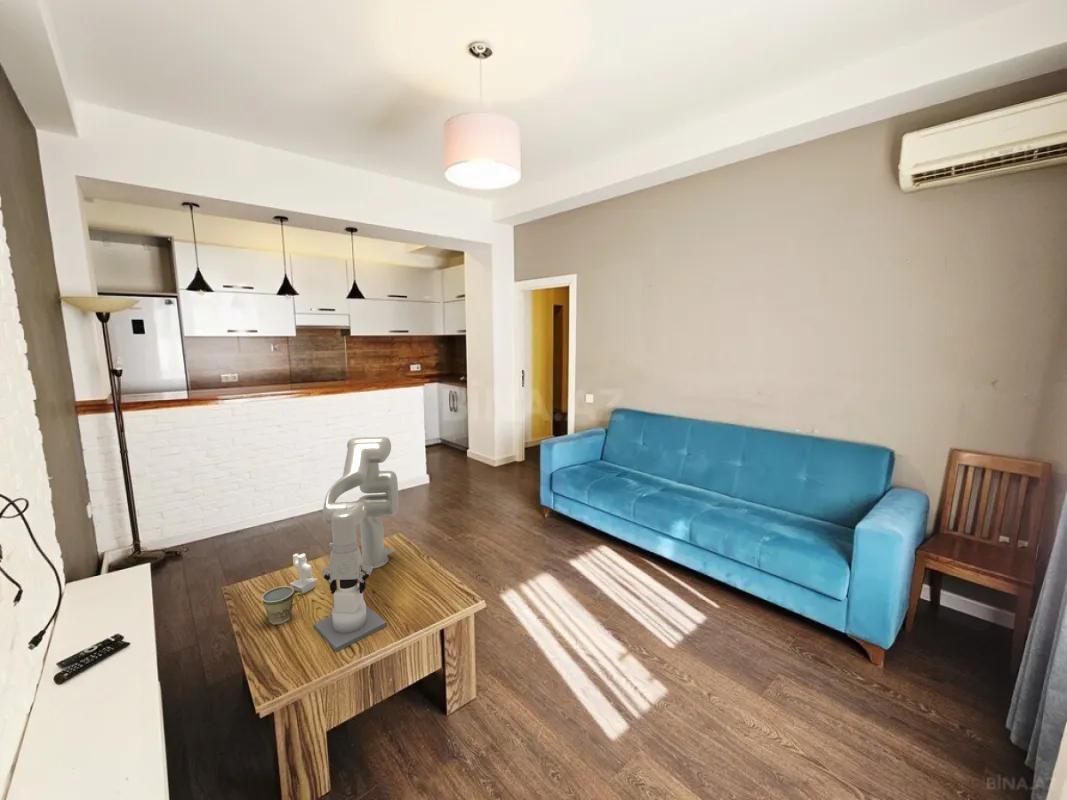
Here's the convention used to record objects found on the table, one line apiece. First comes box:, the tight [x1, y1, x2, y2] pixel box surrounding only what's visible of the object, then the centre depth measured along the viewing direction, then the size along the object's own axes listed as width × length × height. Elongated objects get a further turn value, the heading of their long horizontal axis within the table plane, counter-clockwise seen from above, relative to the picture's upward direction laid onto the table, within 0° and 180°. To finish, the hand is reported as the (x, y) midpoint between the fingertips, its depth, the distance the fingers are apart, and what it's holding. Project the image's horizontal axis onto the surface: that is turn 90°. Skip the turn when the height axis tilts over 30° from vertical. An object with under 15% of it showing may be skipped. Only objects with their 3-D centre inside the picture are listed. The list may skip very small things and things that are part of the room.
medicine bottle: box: [333, 579, 364, 613], centre depth 158 cm, size 7×7×12 cm
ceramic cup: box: [261, 585, 304, 626], centre depth 164 cm, size 13×10×10 cm
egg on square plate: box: [313, 599, 387, 653], centre depth 159 cm, size 18×18×8 cm
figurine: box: [289, 552, 318, 595], centre depth 182 cm, size 7×9×15 cm
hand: (348, 591), depth 158 cm, fingers open, 9 cm apart
